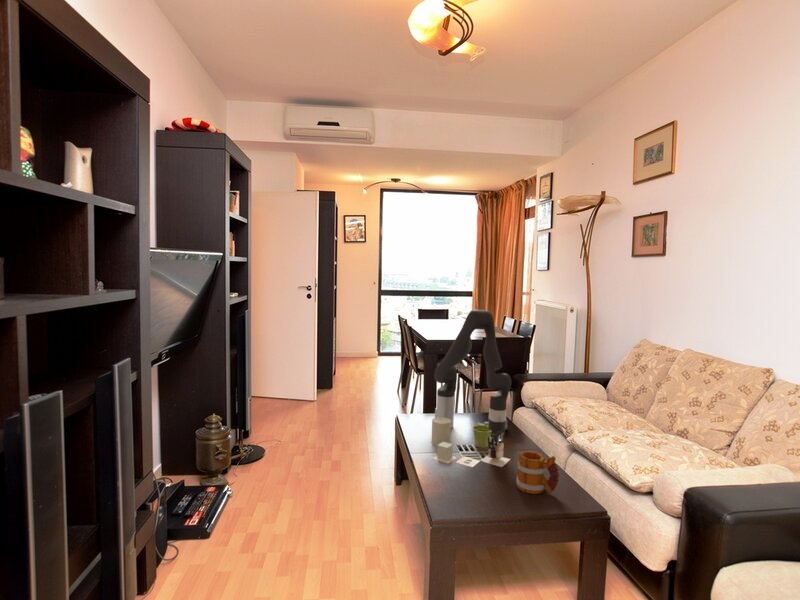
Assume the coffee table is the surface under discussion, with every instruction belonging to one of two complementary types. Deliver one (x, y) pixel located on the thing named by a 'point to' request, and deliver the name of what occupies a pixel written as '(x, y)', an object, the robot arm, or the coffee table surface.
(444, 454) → the sage block
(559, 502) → the coffee table surface
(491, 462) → the felt pad
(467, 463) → the code tile
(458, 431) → the coffee table surface
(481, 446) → the plant pot
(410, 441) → the coffee table surface
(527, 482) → the mug
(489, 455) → the beech block
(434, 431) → the can
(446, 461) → the code tile
